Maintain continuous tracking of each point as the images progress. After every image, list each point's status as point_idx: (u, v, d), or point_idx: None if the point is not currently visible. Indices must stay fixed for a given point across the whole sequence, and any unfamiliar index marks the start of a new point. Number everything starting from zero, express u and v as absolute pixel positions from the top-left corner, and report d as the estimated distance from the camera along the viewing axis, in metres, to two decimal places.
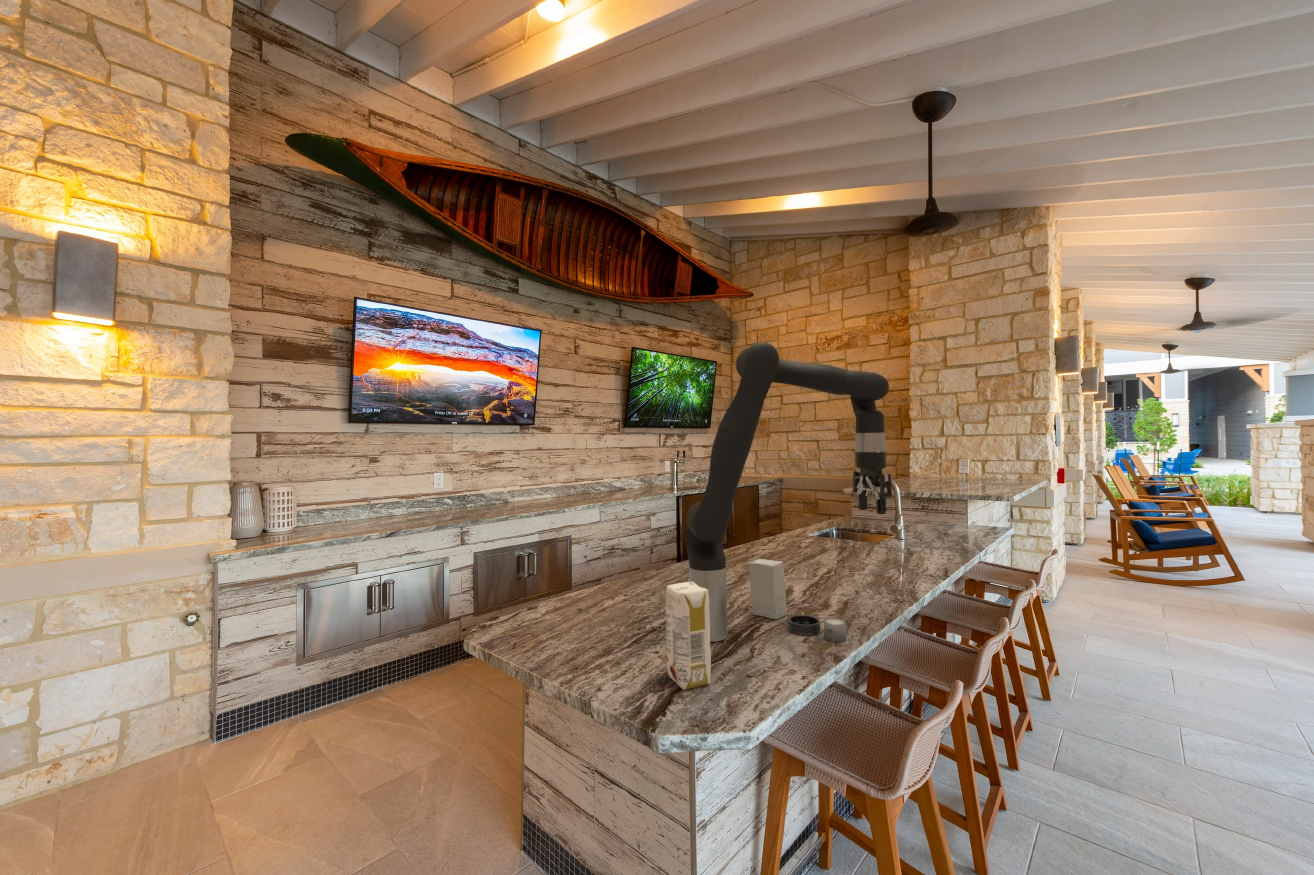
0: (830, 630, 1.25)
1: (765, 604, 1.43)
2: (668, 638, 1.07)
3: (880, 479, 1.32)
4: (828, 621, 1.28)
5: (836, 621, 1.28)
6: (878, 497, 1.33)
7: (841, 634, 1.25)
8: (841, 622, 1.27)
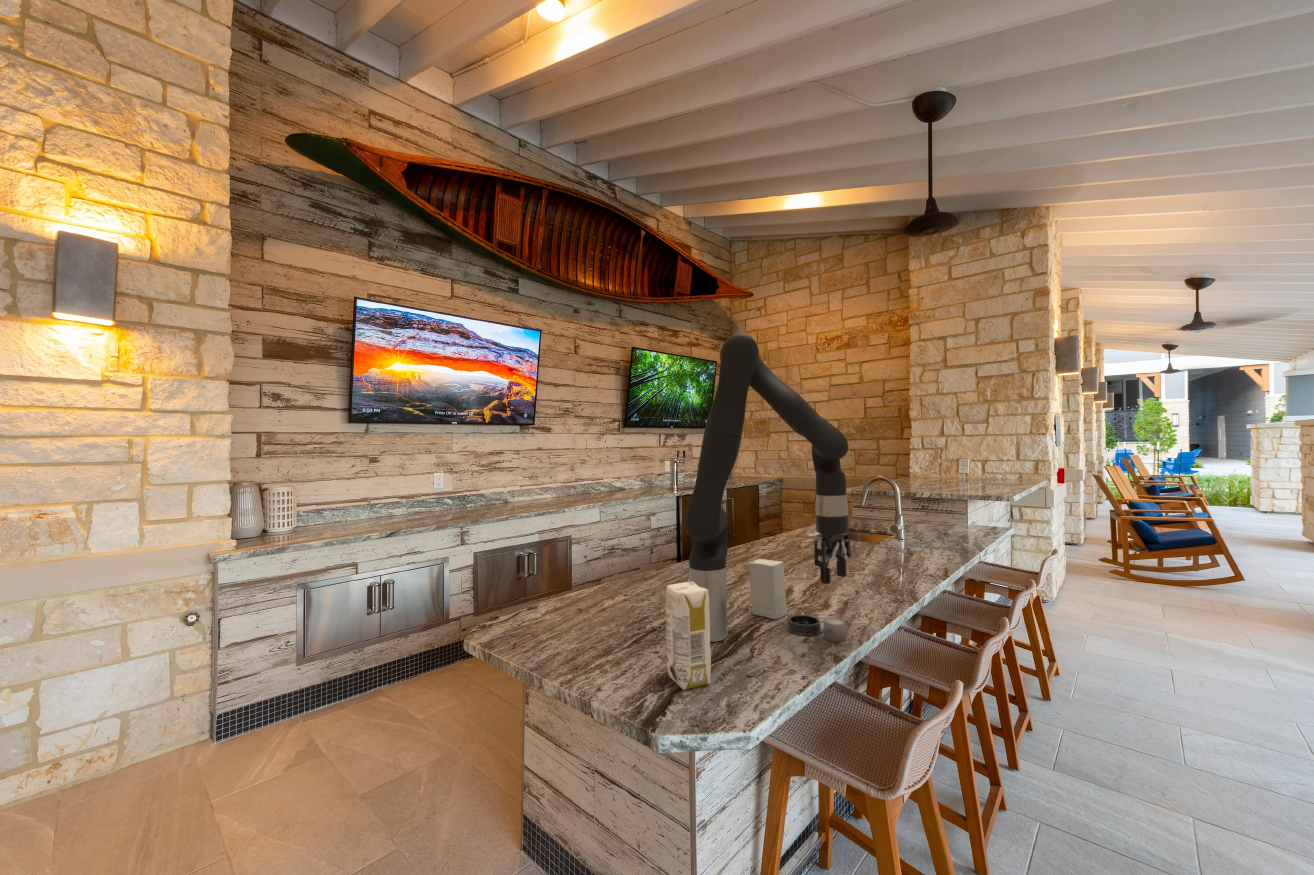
0: (830, 630, 1.25)
1: (765, 604, 1.43)
2: (668, 638, 1.07)
3: (848, 539, 1.31)
4: (828, 621, 1.28)
5: (836, 621, 1.28)
6: None
7: (841, 634, 1.25)
8: (841, 622, 1.27)
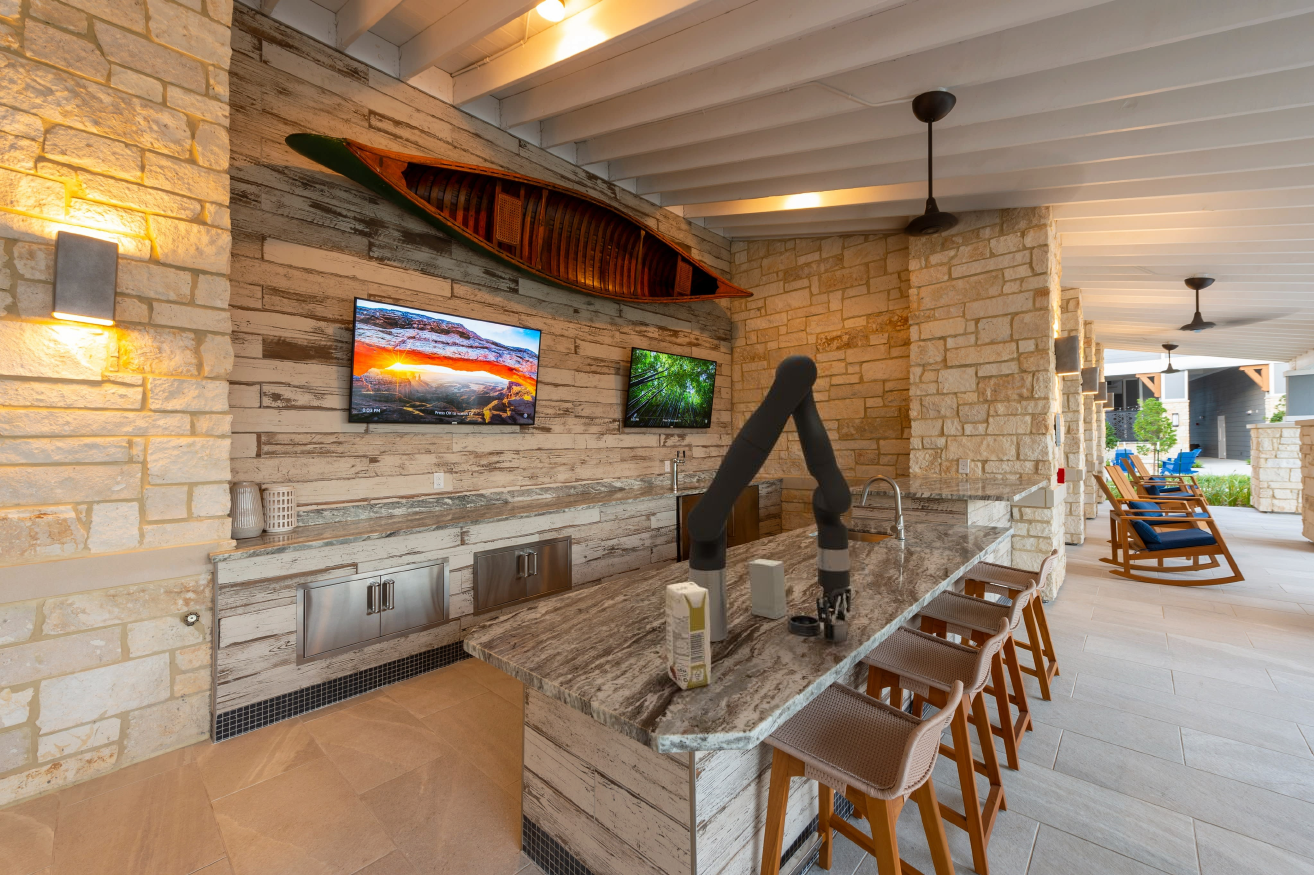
0: None
1: (765, 604, 1.43)
2: (668, 638, 1.07)
3: (849, 594, 1.31)
4: None
5: (836, 621, 1.28)
6: None
7: (841, 633, 1.25)
8: (841, 622, 1.27)
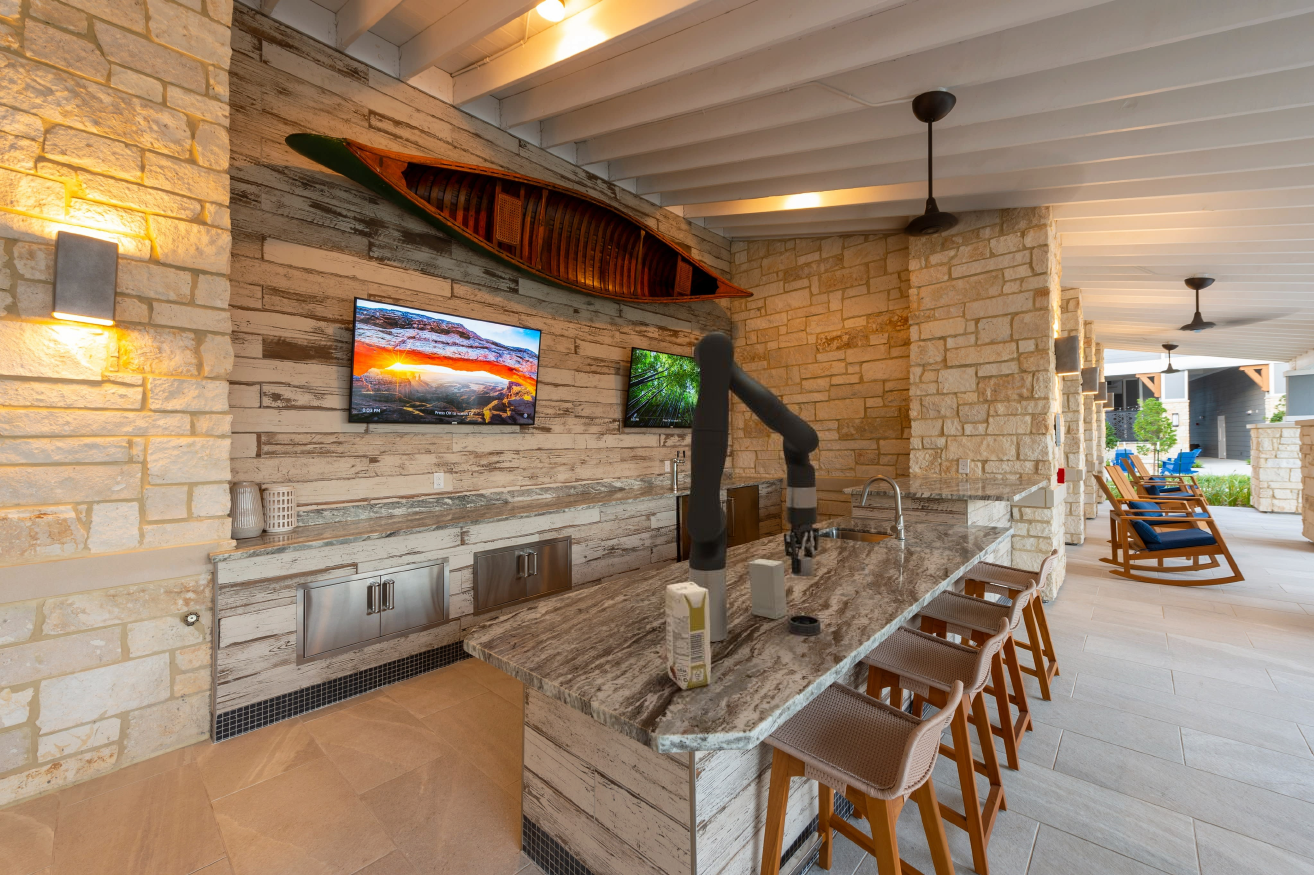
0: None
1: (765, 604, 1.43)
2: (668, 638, 1.07)
3: (817, 533, 1.37)
4: None
5: (804, 557, 1.33)
6: (813, 552, 1.35)
7: (808, 568, 1.31)
8: (808, 558, 1.33)
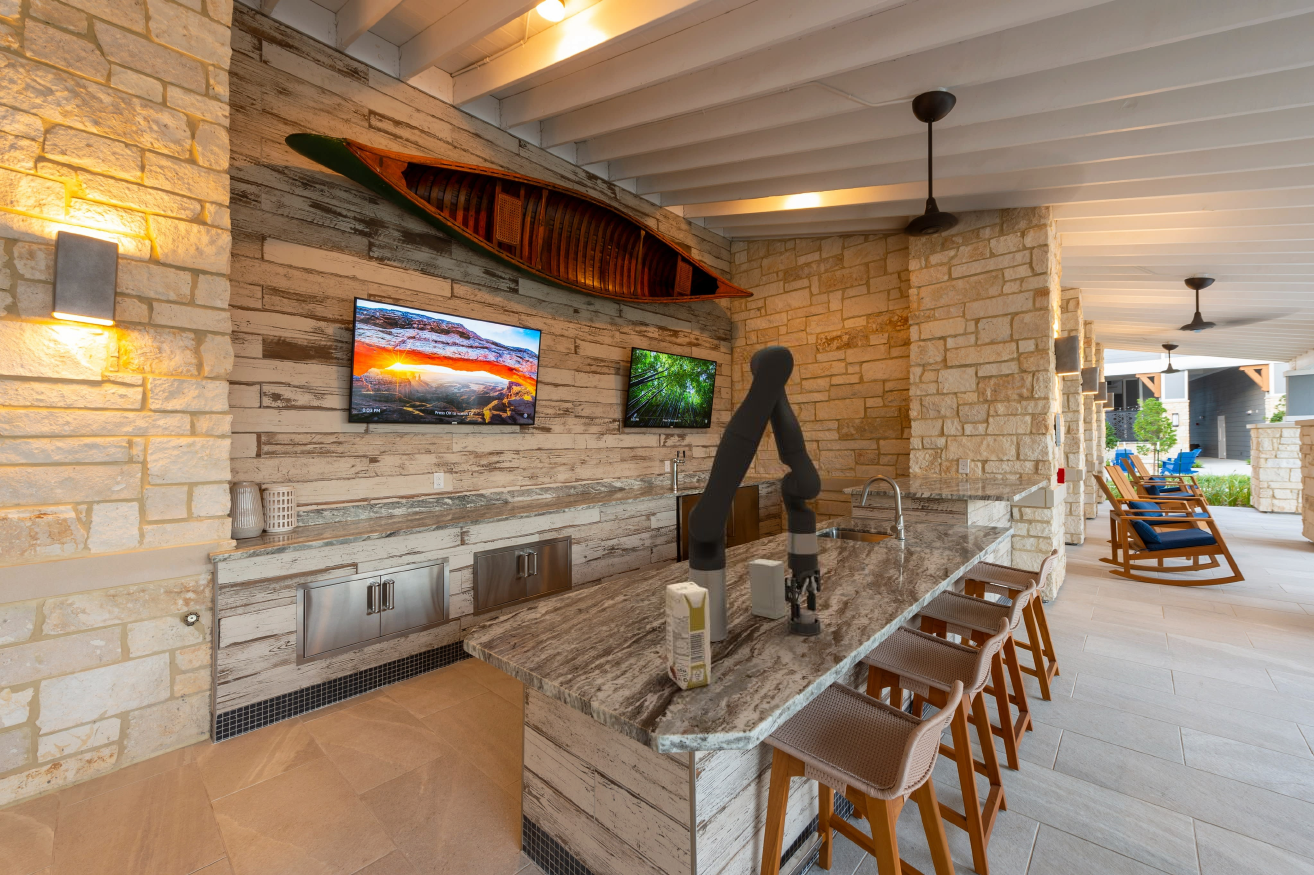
0: (799, 620, 1.31)
1: (765, 604, 1.43)
2: (668, 638, 1.07)
3: (818, 574, 1.37)
4: None
5: (805, 611, 1.33)
6: (816, 593, 1.36)
7: (810, 623, 1.31)
8: (810, 612, 1.33)
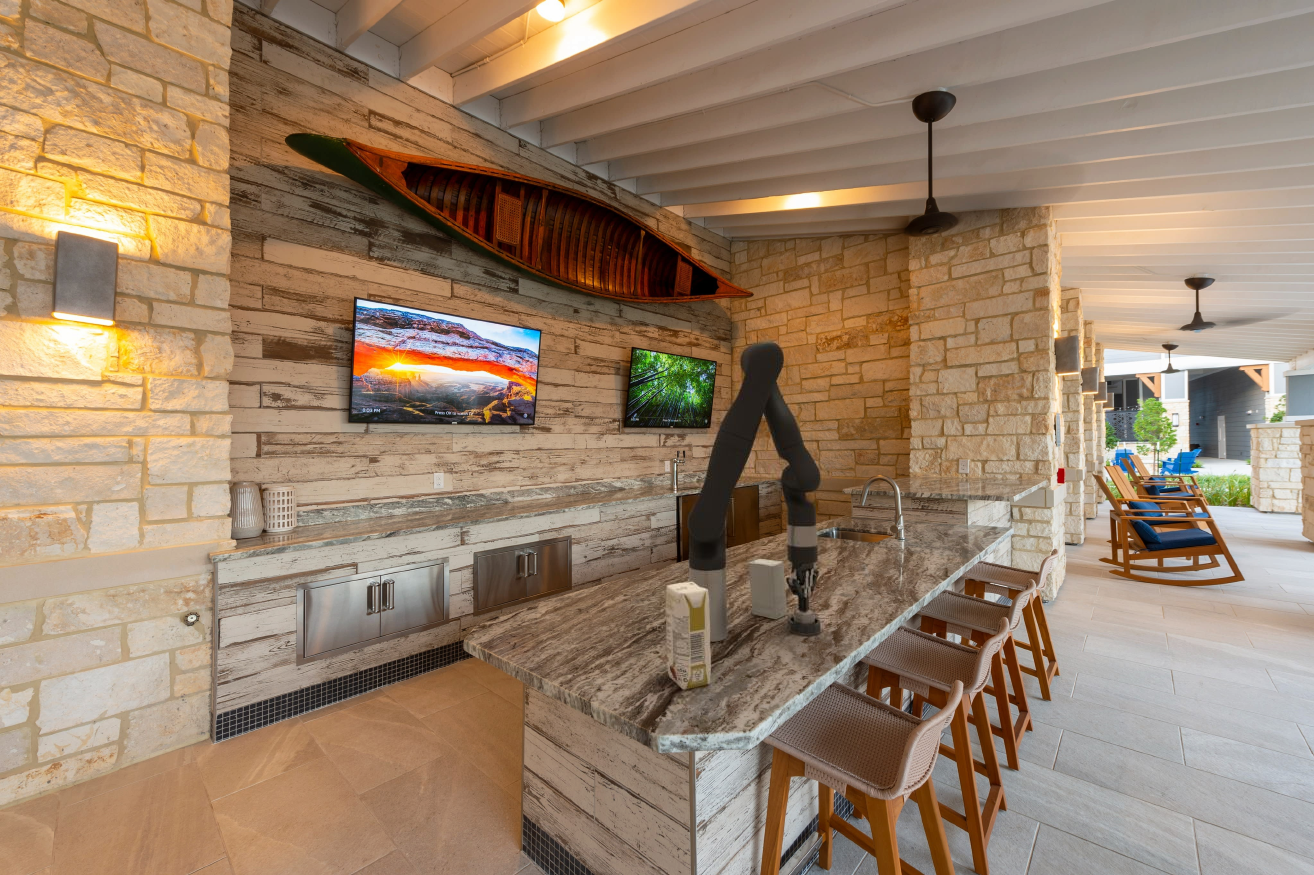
0: (799, 619, 1.31)
1: (765, 604, 1.43)
2: (668, 638, 1.07)
3: (816, 575, 1.36)
4: (797, 611, 1.34)
5: None
6: (809, 593, 1.33)
7: (810, 623, 1.31)
8: (810, 612, 1.33)
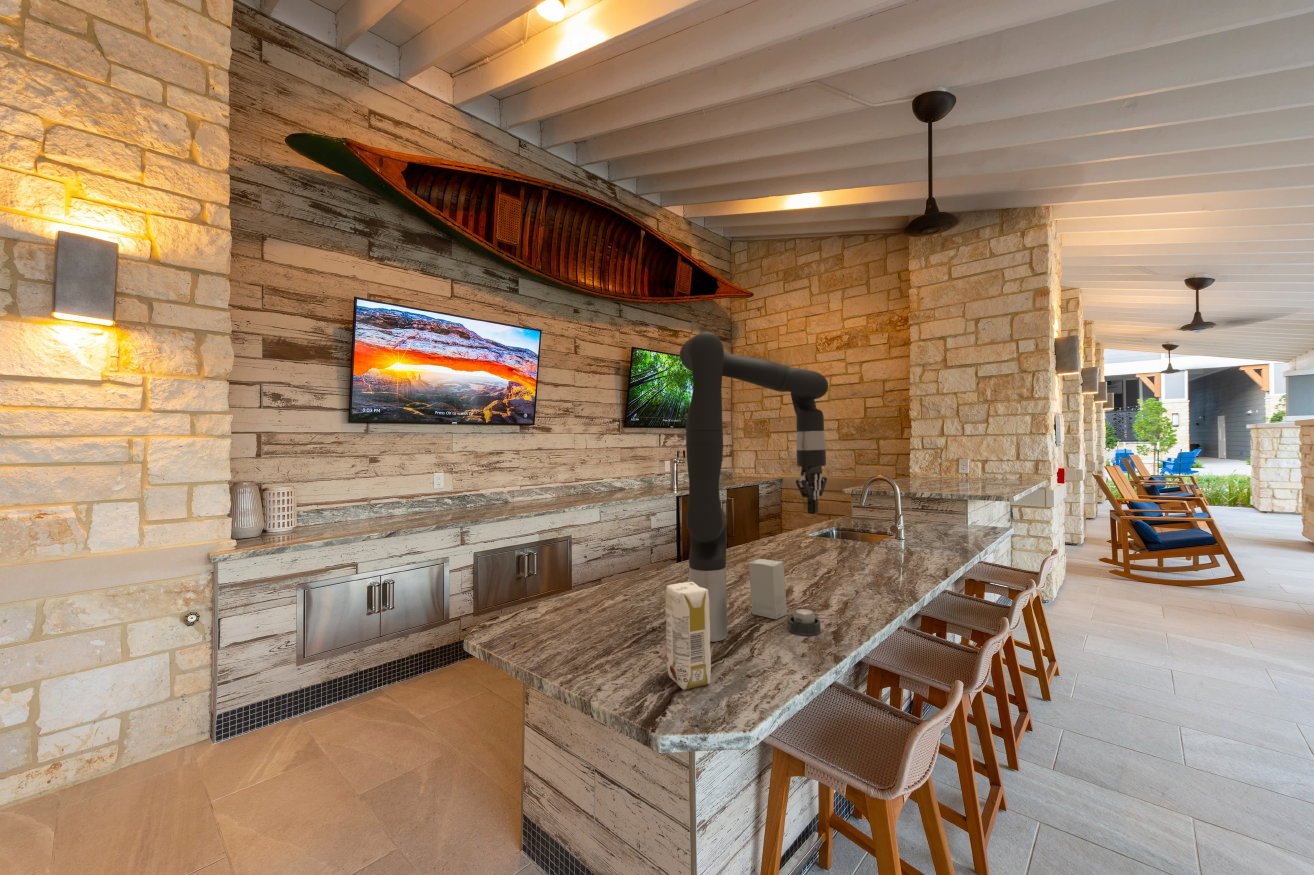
0: (799, 619, 1.31)
1: (765, 604, 1.43)
2: (668, 638, 1.07)
3: (825, 481, 1.42)
4: (797, 611, 1.34)
5: (805, 611, 1.33)
6: (818, 497, 1.39)
7: (810, 623, 1.31)
8: (810, 612, 1.33)
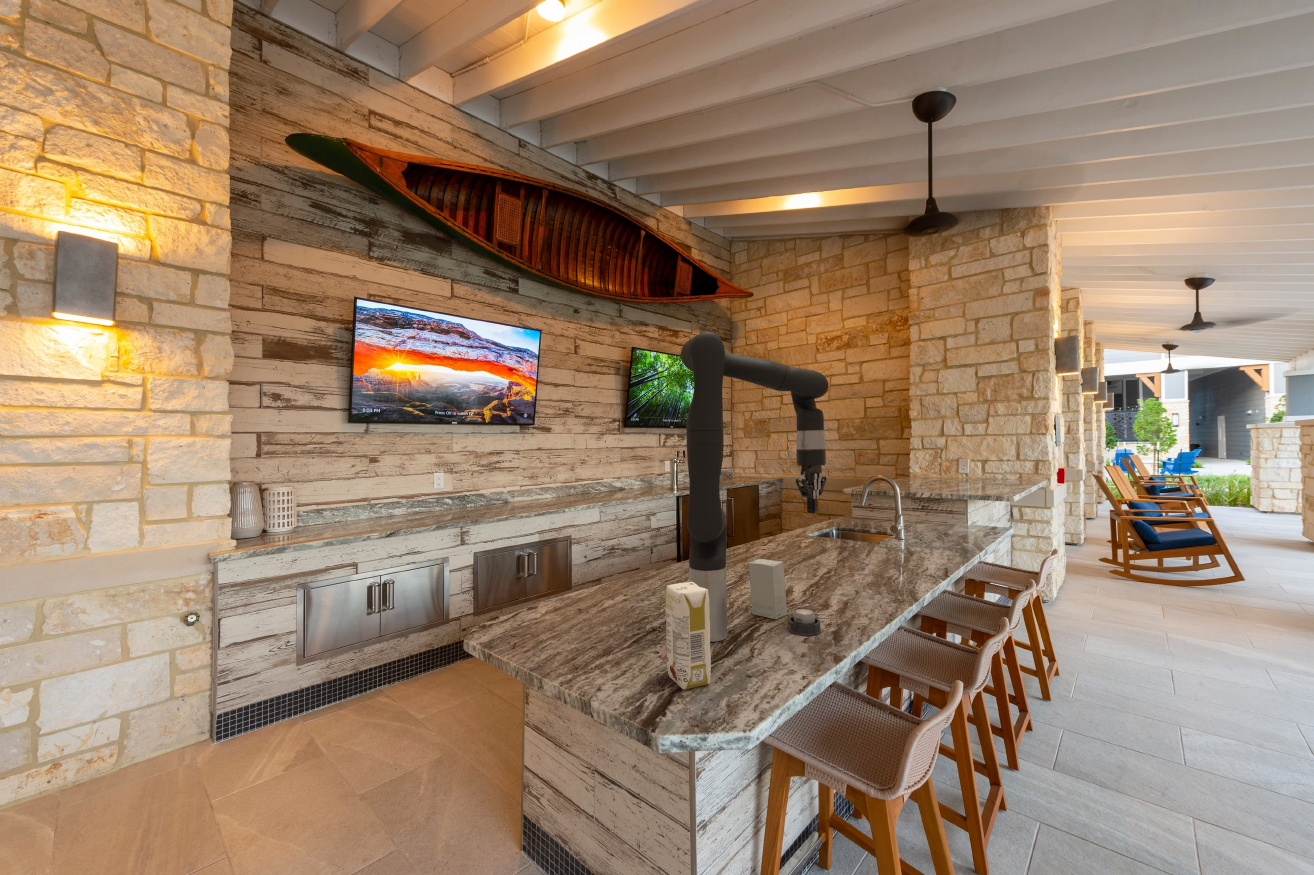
0: (799, 619, 1.31)
1: (765, 604, 1.43)
2: (668, 638, 1.07)
3: (824, 480, 1.42)
4: (797, 611, 1.34)
5: (805, 611, 1.33)
6: (818, 496, 1.40)
7: (809, 623, 1.31)
8: (810, 612, 1.33)
